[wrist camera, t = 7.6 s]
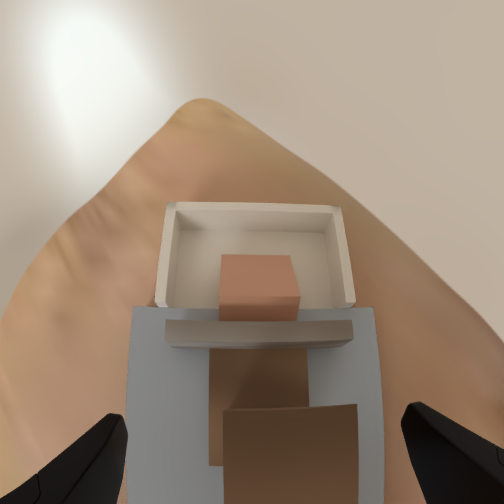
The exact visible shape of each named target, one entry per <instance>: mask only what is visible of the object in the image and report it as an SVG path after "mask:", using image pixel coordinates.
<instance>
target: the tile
mask: <svg viewBox="0 0 504 504" xmlns="http://www.w3.org/2000/svg"><path fill="white" fill-rule="evenodd" d="M218 297H219V321H250V322H271V321H297V316H298V310H299V304H300V298H301V295H300V292H299V288H298V284H297V281H296V277H295V273H294V270H293V266H292V262H291V259H290V255H230V254H222V257H221V269H220V282H219V295H218Z"/></svg>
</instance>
